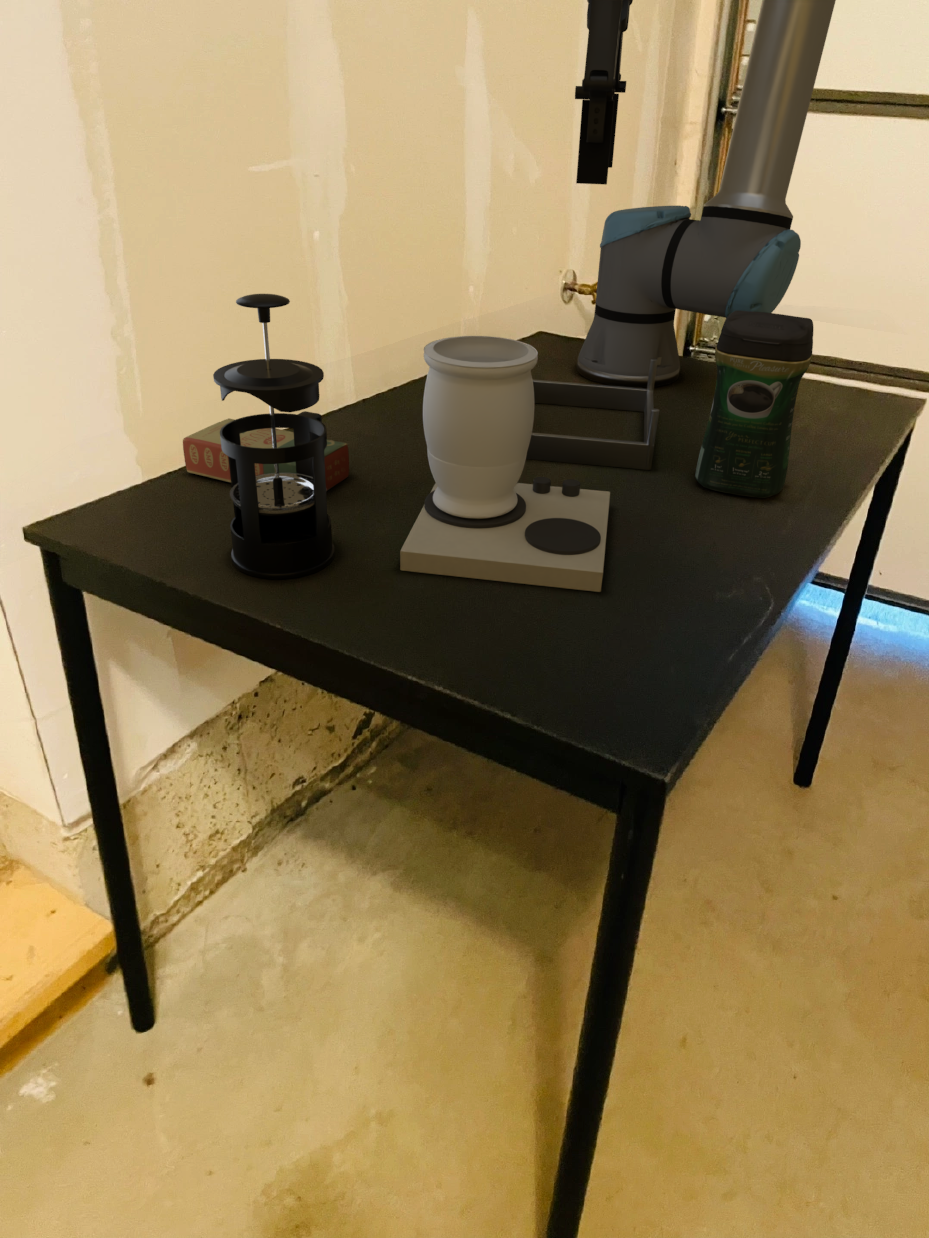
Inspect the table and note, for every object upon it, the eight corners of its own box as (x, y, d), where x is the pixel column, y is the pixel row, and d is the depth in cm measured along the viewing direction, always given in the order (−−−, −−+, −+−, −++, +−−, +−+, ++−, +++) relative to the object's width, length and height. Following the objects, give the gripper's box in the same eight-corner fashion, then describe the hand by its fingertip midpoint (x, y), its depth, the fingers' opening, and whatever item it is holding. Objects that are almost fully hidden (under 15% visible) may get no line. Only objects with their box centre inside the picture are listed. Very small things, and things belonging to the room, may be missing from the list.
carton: (233, 451, 106) (229, 415, 104) (351, 477, 100) (350, 440, 98) (185, 474, 99) (180, 436, 97) (309, 504, 94) (307, 464, 91)
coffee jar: (786, 480, 103) (825, 311, 93) (777, 506, 97) (817, 328, 87) (701, 465, 106) (730, 301, 97) (686, 489, 100) (716, 316, 90)
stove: (438, 492, 97) (439, 464, 96) (608, 509, 95) (611, 480, 93) (400, 570, 82) (399, 538, 80) (600, 592, 80) (604, 560, 78)
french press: (295, 592, 78) (274, 317, 66) (205, 568, 81) (170, 302, 69) (362, 538, 87) (354, 288, 76) (279, 519, 90) (259, 276, 79)
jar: (518, 531, 84) (529, 369, 76) (410, 518, 86) (410, 359, 78) (534, 487, 93) (545, 338, 85) (435, 477, 95) (438, 330, 87)
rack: (511, 399, 125) (514, 348, 122) (650, 410, 123) (657, 358, 119) (488, 455, 107) (491, 397, 103) (651, 470, 104) (659, 411, 101)
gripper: (583, -88, 87) (566, 159, 98) (562, -130, 66) (543, 190, 78) (662, -88, 86) (636, 162, 97) (666, -131, 65) (632, 193, 77)
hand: (595, 175), depth 87 cm, fingers open, 13 cm apart
